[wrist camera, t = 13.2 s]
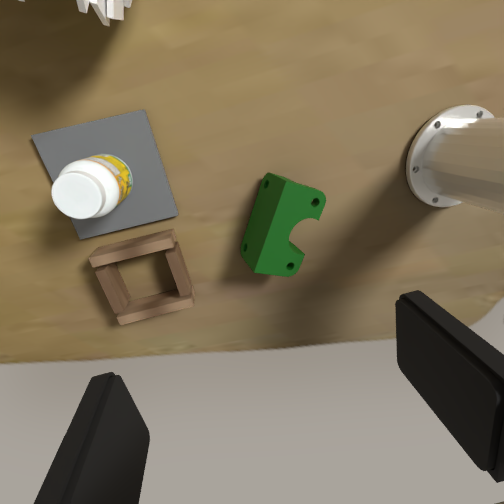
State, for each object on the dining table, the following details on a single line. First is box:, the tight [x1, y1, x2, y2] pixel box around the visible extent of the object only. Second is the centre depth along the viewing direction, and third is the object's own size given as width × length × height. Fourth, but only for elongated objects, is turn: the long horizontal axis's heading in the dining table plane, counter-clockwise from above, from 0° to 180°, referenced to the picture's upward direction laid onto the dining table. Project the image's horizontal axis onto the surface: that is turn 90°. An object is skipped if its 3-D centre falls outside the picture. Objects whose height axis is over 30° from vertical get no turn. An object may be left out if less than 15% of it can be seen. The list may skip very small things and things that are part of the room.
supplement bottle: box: [52, 154, 133, 219], centre depth 31 cm, size 5×5×10 cm
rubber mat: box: [31, 109, 178, 240], centre depth 35 cm, size 12×12×1 cm
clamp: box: [241, 173, 326, 277], centre depth 38 cm, size 12×6×9 cm, turn 157°
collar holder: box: [88, 229, 195, 325], centre depth 39 cm, size 10×10×4 cm
